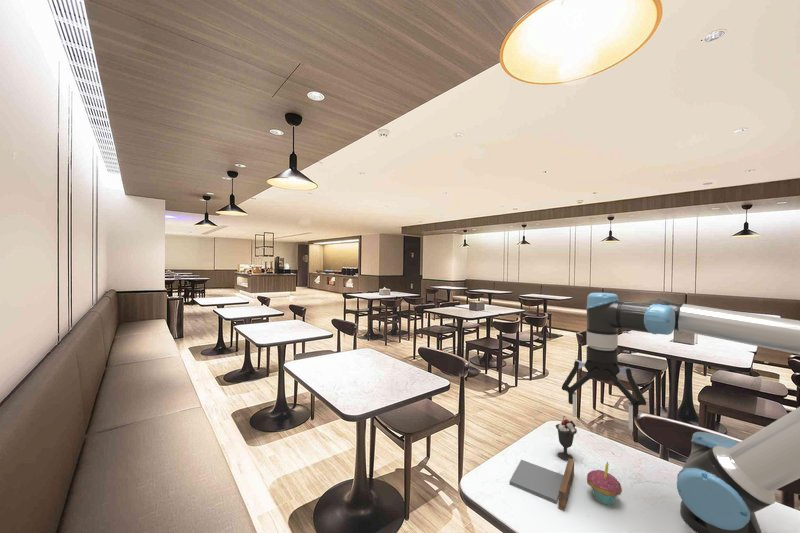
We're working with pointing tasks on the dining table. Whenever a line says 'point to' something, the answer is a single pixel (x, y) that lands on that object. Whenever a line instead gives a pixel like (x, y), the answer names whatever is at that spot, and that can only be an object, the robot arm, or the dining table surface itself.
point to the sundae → (566, 437)
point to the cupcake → (604, 485)
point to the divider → (566, 484)
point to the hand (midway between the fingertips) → (601, 421)
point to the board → (537, 480)
